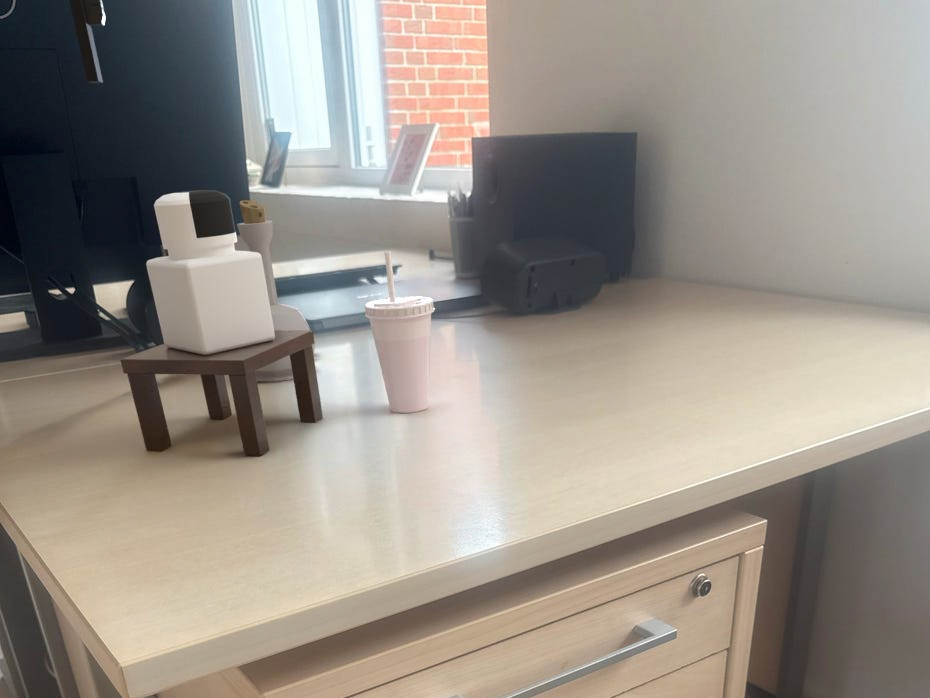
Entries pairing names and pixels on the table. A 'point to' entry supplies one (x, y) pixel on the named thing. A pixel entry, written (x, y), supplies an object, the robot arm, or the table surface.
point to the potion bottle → (269, 286)
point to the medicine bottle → (207, 277)
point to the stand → (224, 385)
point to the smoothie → (402, 345)
